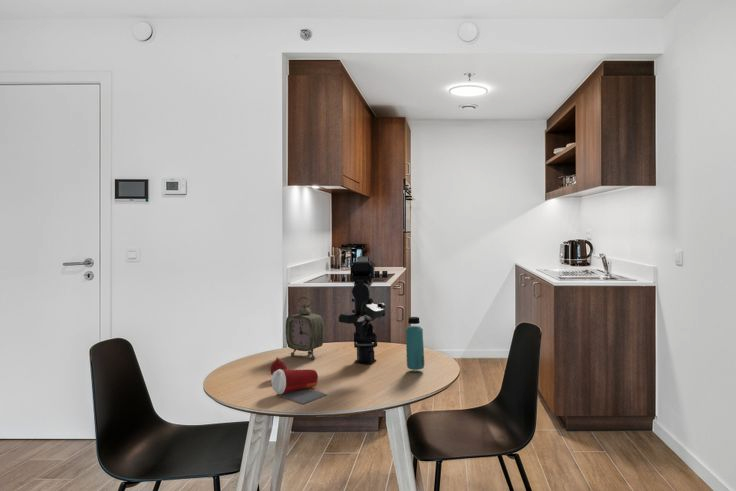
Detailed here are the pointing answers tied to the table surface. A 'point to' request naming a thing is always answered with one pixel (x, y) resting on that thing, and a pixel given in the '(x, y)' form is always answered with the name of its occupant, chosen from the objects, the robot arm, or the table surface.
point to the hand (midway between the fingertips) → (363, 338)
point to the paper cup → (293, 380)
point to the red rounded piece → (277, 365)
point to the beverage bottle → (414, 345)
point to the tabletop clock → (304, 330)
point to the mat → (302, 395)
